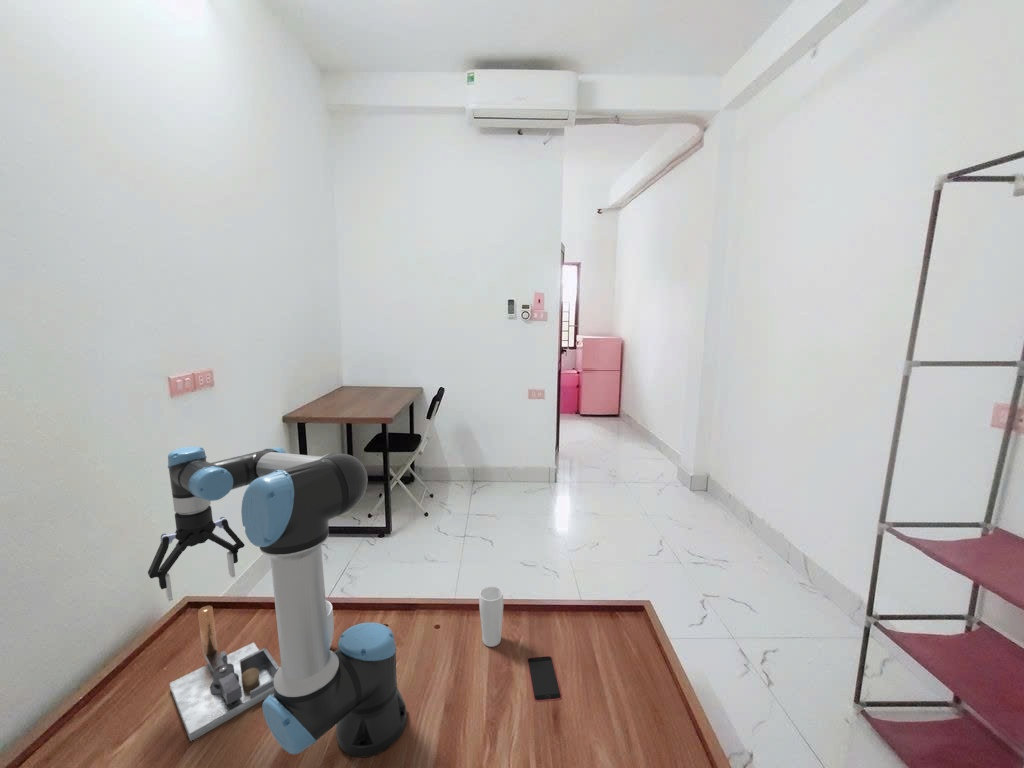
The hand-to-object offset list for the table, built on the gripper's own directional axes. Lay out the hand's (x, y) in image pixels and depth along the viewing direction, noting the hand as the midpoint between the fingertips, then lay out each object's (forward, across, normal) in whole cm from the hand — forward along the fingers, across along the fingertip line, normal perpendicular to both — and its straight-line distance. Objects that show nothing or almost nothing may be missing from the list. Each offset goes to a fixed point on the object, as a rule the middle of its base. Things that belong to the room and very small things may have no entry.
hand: (202, 586), depth 116 cm
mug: (+23, -20, +17) cm, 35 cm away
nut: (+21, -4, +17) cm, 27 cm away
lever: (+20, 0, +10) cm, 22 cm away
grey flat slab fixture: (+23, 0, +12) cm, 26 cm away
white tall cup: (+23, -57, +48) cm, 78 cm away
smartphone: (+23, -57, +67) cm, 91 cm away
